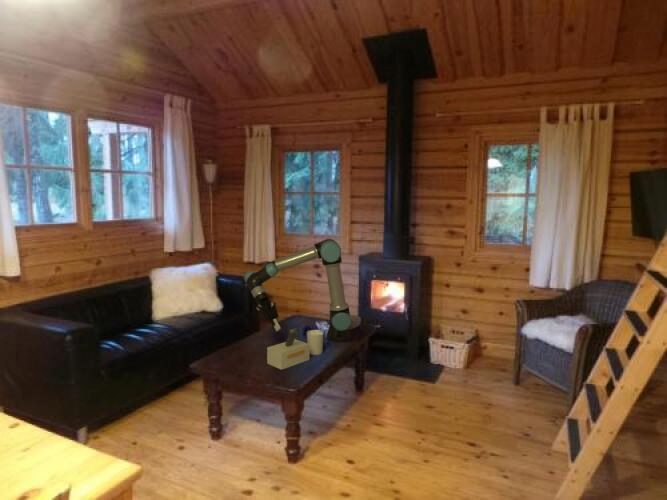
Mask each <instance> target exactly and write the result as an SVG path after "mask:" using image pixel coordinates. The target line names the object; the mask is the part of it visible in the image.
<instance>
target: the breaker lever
mask: <svg viewBox="0 0 667 500" xmlns="http://www.w3.org/2000/svg"><path fill="white" fill-rule="evenodd" d="M299 332H300V329H299V328H298V327H296V328H292V329H289V330H288V336H287V339H286V341H285V342H286V344H285V345H286V346H287V347H288V346H291V345H293V342H294V339H296V336H297V334H298V333H299Z"/></svg>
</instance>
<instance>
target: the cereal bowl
mask: <svg viewBox="0 0 667 500" xmlns="http://www.w3.org/2000/svg"><path fill="white" fill-rule="evenodd" d="M350 317H351V319H352V322H351V325H350V327H349V328H348V329H349V331H350V330H354V329H355V328H357V327H358V326H360V324H361V322H362V320H361V319H362V318H361V317H360V316H358V315H354V314H350Z"/></svg>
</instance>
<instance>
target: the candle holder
mask: <svg viewBox="0 0 667 500" xmlns="http://www.w3.org/2000/svg"><path fill="white" fill-rule="evenodd" d="M306 341H307V342H306V343H307V344H309V355H312V356H318V355H321V354H322V353H323V347H324V346H323V345H324V331H323V330H320V329H311V330H307V331H306Z"/></svg>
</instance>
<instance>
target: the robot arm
mask: <svg viewBox="0 0 667 500" xmlns="http://www.w3.org/2000/svg"><path fill="white" fill-rule="evenodd" d="M315 259H318V260H320V259H321V264H322V265H323V267H325V271H326V278H327V285H328V290H329V298H330V303H329V307H328V308H329V326H328V330H327V333H326V339H327V340H328V341H331V342H335V343H338V342H339V343H340V342H341V343H342V342H347V341H349V340H350V339H351V333H350V330H349V329H348V328H349V327H350V325H351V322H352V319H351V317H350V315H351V313H350V306H349V304H348V303H347V302H346V297H345V290H344V289H345V288H344V284H343V277H342V270H341V264H342V262H343V261H342V260H343V259H342V247H341V246H340V245H339V243H338V242H337V241H336V240H335V239H332V238H326V239H323V240H322V241H318V242H317V243H313V246H311V247H308V248H304V249H302V250H299V251H296V252H294V253H291V254H287V255H285V256H283V257H280V258H277V259H274V260H271V261H266V262H265V263H264V264H263V265H262V268H261V269H259V270H258V271H254V270H250V271H248V272H247V273H245V274H244V276H243V279H244V282H245V284H246V286H247V287H248V289H249V291H250V292H251V295H252V297H253V298H254V301H255V302H256V304H257V306H256V308H255V310H256V311H258V312H259V313H260V315H261V316H262V317H263V318H264V320H265V321H266V322H268V323H270V324H271V326H272V327H274V329H275V331H276V332H278V331H280V330H281V329H282V328H281V326H280V321H278V318H279V314H278V309H277V307H276V305H277V303H276V302H275V301H274V302H272V301H271V300H270V298H269V295H268V293H267V292H266V289H265V288H264V286H263V283H265V282H267V281H269V280H270V279H272V278H273V277H275V276H277V275H278V273H279V272H281V271H284V270H287V269H290V268H293V267H295V266H298V265H301V264H305V263H307V262H310V261H313V260H315Z"/></svg>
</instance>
